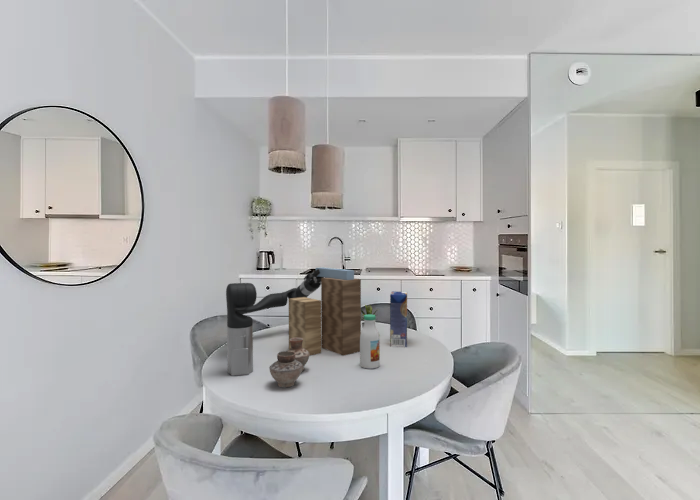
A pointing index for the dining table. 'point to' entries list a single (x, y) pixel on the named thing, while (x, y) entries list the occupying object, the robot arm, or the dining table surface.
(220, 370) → the dining table surface
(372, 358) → the milk bottle
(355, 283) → the tall stand
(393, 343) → the juice carton
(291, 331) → the lower block
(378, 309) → the house plant
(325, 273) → the rod
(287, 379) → the pottery
